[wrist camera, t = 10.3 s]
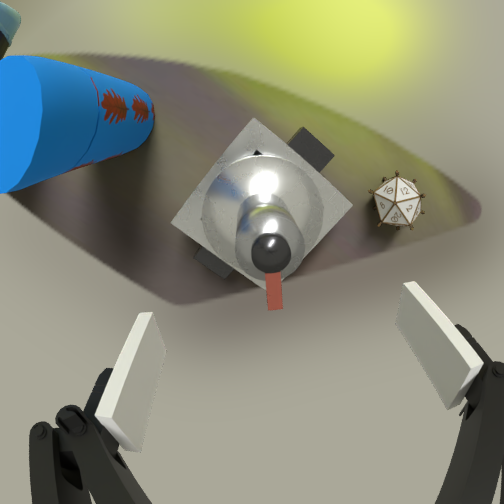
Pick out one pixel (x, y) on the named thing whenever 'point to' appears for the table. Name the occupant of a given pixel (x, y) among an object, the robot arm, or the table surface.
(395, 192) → the game die
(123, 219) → the table surface
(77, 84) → the thermos
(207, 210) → the lid
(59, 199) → the table surface
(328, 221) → the base
